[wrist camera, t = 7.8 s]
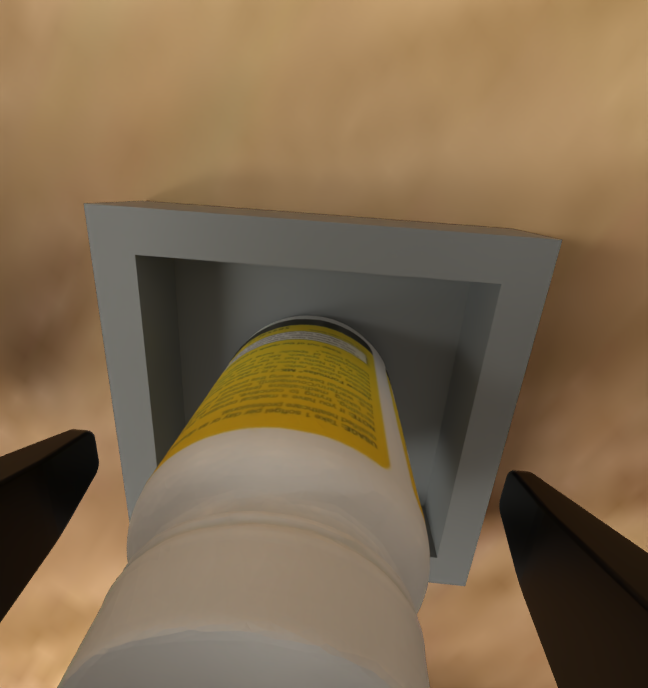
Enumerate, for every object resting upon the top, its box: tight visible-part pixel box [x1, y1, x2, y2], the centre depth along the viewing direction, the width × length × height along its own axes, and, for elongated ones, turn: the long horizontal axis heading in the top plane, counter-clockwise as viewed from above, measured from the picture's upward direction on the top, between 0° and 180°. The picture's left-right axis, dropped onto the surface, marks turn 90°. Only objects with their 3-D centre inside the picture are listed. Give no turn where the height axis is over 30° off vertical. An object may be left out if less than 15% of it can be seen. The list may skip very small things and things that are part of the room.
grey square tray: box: [84, 201, 562, 586], centre depth 11 cm, size 10×10×3 cm
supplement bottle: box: [57, 315, 430, 688], centre depth 8 cm, size 5×5×8 cm
